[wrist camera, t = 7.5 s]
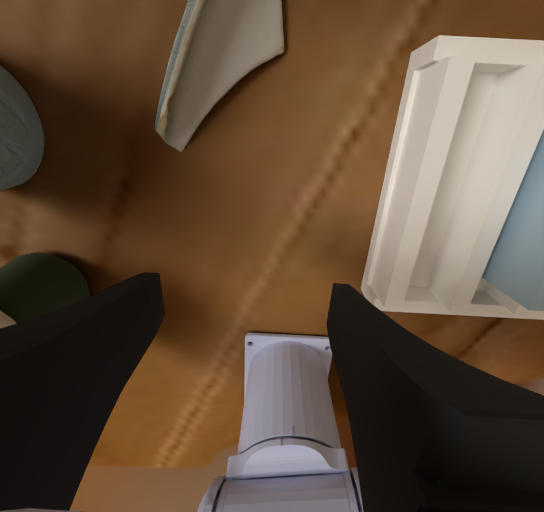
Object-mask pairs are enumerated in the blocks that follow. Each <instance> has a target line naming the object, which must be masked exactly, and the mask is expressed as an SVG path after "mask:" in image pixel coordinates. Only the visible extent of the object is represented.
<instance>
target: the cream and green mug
mask: <svg viewBox="0 0 544 512" xmlns="http://www.w3.org/2000/svg"><path fill="white" fill-rule="evenodd" d="M87 297H90V294H89V289H88V285H87V280H86V279H85V278H84V277H83V275H82V274H81V273H80V272H79V271H78V269H77V268H76V267H75V266H74V265H72V264H70V263H68V262H66V261H65V260H63V259H61V258H59V257H57V256H53V255H47V254H42V253H32V254H26V255H21V256H19V257H17V258H16V259H14V260H13V261H11V262H9V263H8V264H6V265H4V266H3V267H1V268H0V328H3V327H7V326H10V325H14V324H17V323H20V322H24V321H27V320H30V319H33V318H36V317H39V316H42V315H45V314H48V313H50V312H53V311H56V310H59V309H61V308H64V307H66V306H69V305H71V304H74V303H76V302H78V301H80V300H83V299H85V298H87Z"/></svg>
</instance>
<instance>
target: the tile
mask: <svg viewBox="0 0 544 512" xmlns="http://www.w3.org/2000/svg"><path fill="white" fill-rule="evenodd" d="M482 278H483V279H485V280H486V281H488V282H489V283H490V284H492V285H493V286H495V287H496V288H497V289H499V290H500V291H502V292H503V293H505V294H506V295H507V296H509V297H510V298H512V299H513V300H514V301H516V302H517V303H519V304H520V305H521V306H523V307H524V308H526V309H527V310H532V311H544V130H543V132H542V134H541V137H540V139H539V142H538V144H537V146H536V149H535V151H534V153H533V156H532V158H531V161H530V163H529V165H528V168H527V170H526V172H525V175H524V177H523V180H522V182H521V184H520V187H519V189H518V191H517V194H516V196H515V199H514V201H513V203H512V206H511V208H510V210H509V213H508V215H507V218H506V220H505V222H504V225H503V227H502V229H501V232H500V234H499V237H498V239H497V241H496V244H495V246H494V248H493V251H492V253H491V256H490V258H489V260H488V263H487V265H486V267H485V270H484V272H483V275H482Z"/></svg>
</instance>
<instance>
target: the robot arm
mask: <svg viewBox="0 0 544 512" xmlns="http://www.w3.org/2000/svg"><path fill="white" fill-rule="evenodd" d="M164 315H165V311H164V304H163V297H162V290H161V282H160V275H159V273H147V272H144V273H141V274H138V275H136V276H134V277H131V278H129V279H127V280H125V281H122V282H120V283H118V284H116V285H114V286H112V287H110V288H108V289H105V290H103V291H101V292H99V293H97V294H94V295H92V296H90V297H87V298H85V299H83V300H80V301H78V302H76V303H74V304H71V305H69V306H66V307H64V308H61V309H59V310H56V311H53V312H50V313H48V314H45V315H42V316H39V317H36V318H33V319H30V320H27V321H24V322H20V323H17V324H14V325H10V326H7V327H3V328H0V512H79V511H69V510H70V507H71V504H72V502H73V499H74V497H75V494H76V492H77V489H78V487H79V484H80V482H81V480H82V477H83V475H84V472H85V470H86V468H87V465H88V463H89V461H90V458H91V456H92V454H93V451H94V449H95V447H96V444H97V442H98V440H99V438H100V436H101V433H102V431H103V429H104V427H105V425H106V422H107V420H108V418H109V416H110V414H111V412H112V410H113V408H114V406H115V404H116V402H117V400H118V398H119V396H120V394H121V392H122V390H123V388H124V386H125V385H126V383H127V381H128V380H129V378H130V376H131V375H132V373H133V372H134V370H135V368H136V367H137V365H138V363H139V362H140V360H141V359H142V357H143V355H144V354H145V352H146V351H147V349H148V347H149V346H150V344H151V342H152V341H153V339H154V337H155V336H156V334H157V331H158V329H159V327H160V325H161V322H162V320H163V317H164ZM327 330H328V337H322V336H303V335H285V334H267V333H247V334H246V336H245V402H244V409H243V417H242V424H241V432H240V440H239V447H238V455H234V456H230V457H229V460H228V467H227V473H226V476H218V477H217V478H215V479H214V481H213V482H212V483H211V485H210V487H209V489H208V490H207V491H206V493H205V495H204V496H203V498H202V501H201V503H200V506H199V509H198V512H544V396H543V395H541V394H538V393H535V392H533V391H530V390H528V389H525V388H522V387H520V386H517V385H515V384H512V383H509V382H507V381H504V380H502V379H499V378H497V377H495V376H493V375H490V374H488V373H486V372H484V371H481V370H479V369H477V368H475V367H473V366H470V365H468V364H466V363H464V362H462V361H460V360H458V359H456V358H454V357H452V356H450V355H449V354H447V353H445V352H443V351H441V350H439V349H437V348H435V347H434V346H432V345H430V344H428V343H427V342H425V341H423V340H422V339H420V338H419V337H417V336H415V335H414V334H412V333H411V332H409V331H408V330H406V329H405V328H403V327H402V326H400V325H399V324H398V323H396V322H395V321H393V320H392V319H391V318H389V317H388V316H387V315H385V314H384V313H383V312H382V311H380V310H379V309H378V308H377V307H375V306H374V305H373V304H372V303H371V302H369V301H368V300H367V299H366V298H365V297H363V296H362V295H361V294H360V293H359V292H358V291H356V290H355V289H354V288H353V287H351V286H350V285H349V284H337V283H333V289H332V295H331V301H330V307H329V312H328V318H327ZM249 342H252V343H249ZM326 346H330V347H326ZM332 355H333V359H334V362H335V366H336V369H337V373H338V376H339V380H340V383H341V387H342V390H343V394H344V398H345V402H346V406H347V411H348V417H349V422H350V428H351V433H352V439H353V445H354V452H355V458H356V464H357V467H356V468H350V474H349V468H348V463H347V459H346V454H345V450H344V449H343V448H341V446H340V441H339V436H338V430H337V425H336V420H335V415H334V410H333V405H332V400H331V395H330V389H329V384H328V375H329V370H330V364H331V359H332ZM80 512H81V511H80Z"/></svg>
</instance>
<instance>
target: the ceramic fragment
mask: <svg viewBox="0 0 544 512" xmlns="http://www.w3.org/2000/svg"><path fill="white" fill-rule="evenodd" d="M281 54H284V34H283V17H282V2H281V0H188V3H187V6H186V9H185V12H184V15H183V18H182V21H181V24H180V27H179V30H178V33H177V36H176V39H175V42H174V45H173V49H172V52H171V56H170V59H169V63H168V66H167V70H166V75H165V79H164V83H163V87H162V91H161V95H160V100H159V105H158V110H157V116H156V121H155V130H156V132H157V133H158V134H159V135H160V136H161V137H162V139H163V140H164V141H165V143H166V144H167V145H169V146H171V147H173V148H175V149H177V150H179V151H180V152H182V151H183V150H184V149H185V147H186V146H187V144H188V143H189V141H190V139H191V138H192V136H193V134H194V133H195V131H196V130H197V128H198V126H199V125H200V123H201V122H202V120H203V119H204V118H205V116H206V115H207V114H208V113H209V112H210V110H211V109H212V108H213V107H214V106H215V105H216V104H217V103H218V102H219V101H220V100H221V99H222V98H223V97H224V96H225V95H226V94H227V93H228V92H229V91H230V90H231V89H232V88H233V87H234V86H235V85H236V84H237V83H238V82H239V81H240V80H241V79H242V78H243V77H245V76H246V75H247V74H249V73H250V72H251V71H253V70H254V69H256V68H257V67H258V66H260V65H262V64H263V63H265V62H267V61H269V60H271V59H272V58H274V57H276V56H279V55H281Z"/></svg>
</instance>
